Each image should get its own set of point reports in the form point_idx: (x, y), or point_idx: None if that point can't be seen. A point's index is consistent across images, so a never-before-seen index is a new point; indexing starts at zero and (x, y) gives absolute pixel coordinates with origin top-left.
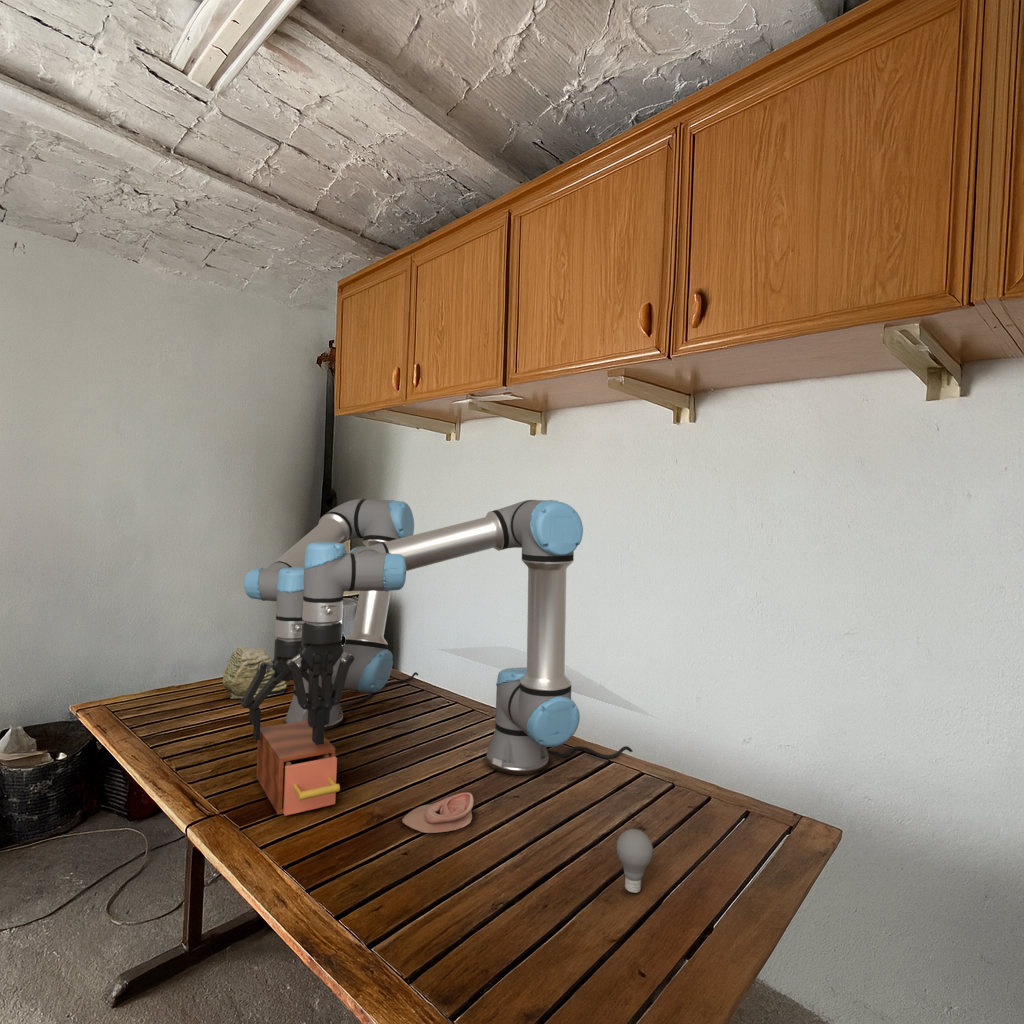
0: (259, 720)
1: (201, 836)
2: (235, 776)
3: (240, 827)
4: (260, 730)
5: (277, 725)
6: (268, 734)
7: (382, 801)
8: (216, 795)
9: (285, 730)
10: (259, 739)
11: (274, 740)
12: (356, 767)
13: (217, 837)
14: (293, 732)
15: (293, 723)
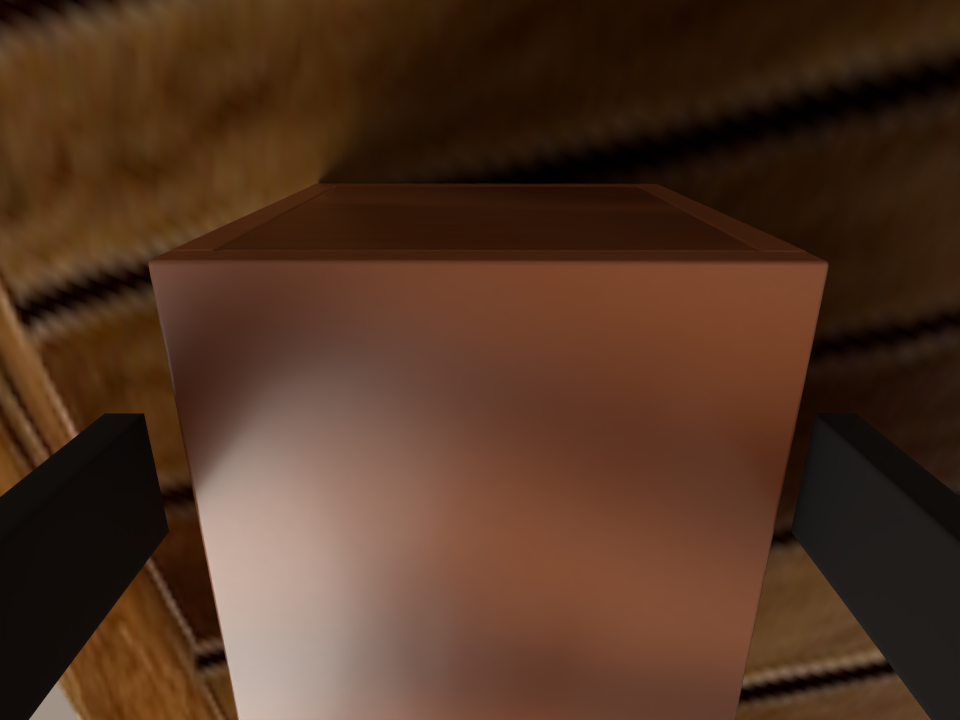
0: (20, 708)
1: None
2: (185, 85)
3: (199, 651)
4: (170, 361)
5: (393, 282)
6: (249, 514)
7: (798, 707)
8: (79, 315)
9: (444, 484)
10: (164, 534)
11: (288, 667)
12: (926, 330)
13: (112, 678)
14: (507, 566)
15: (599, 305)
